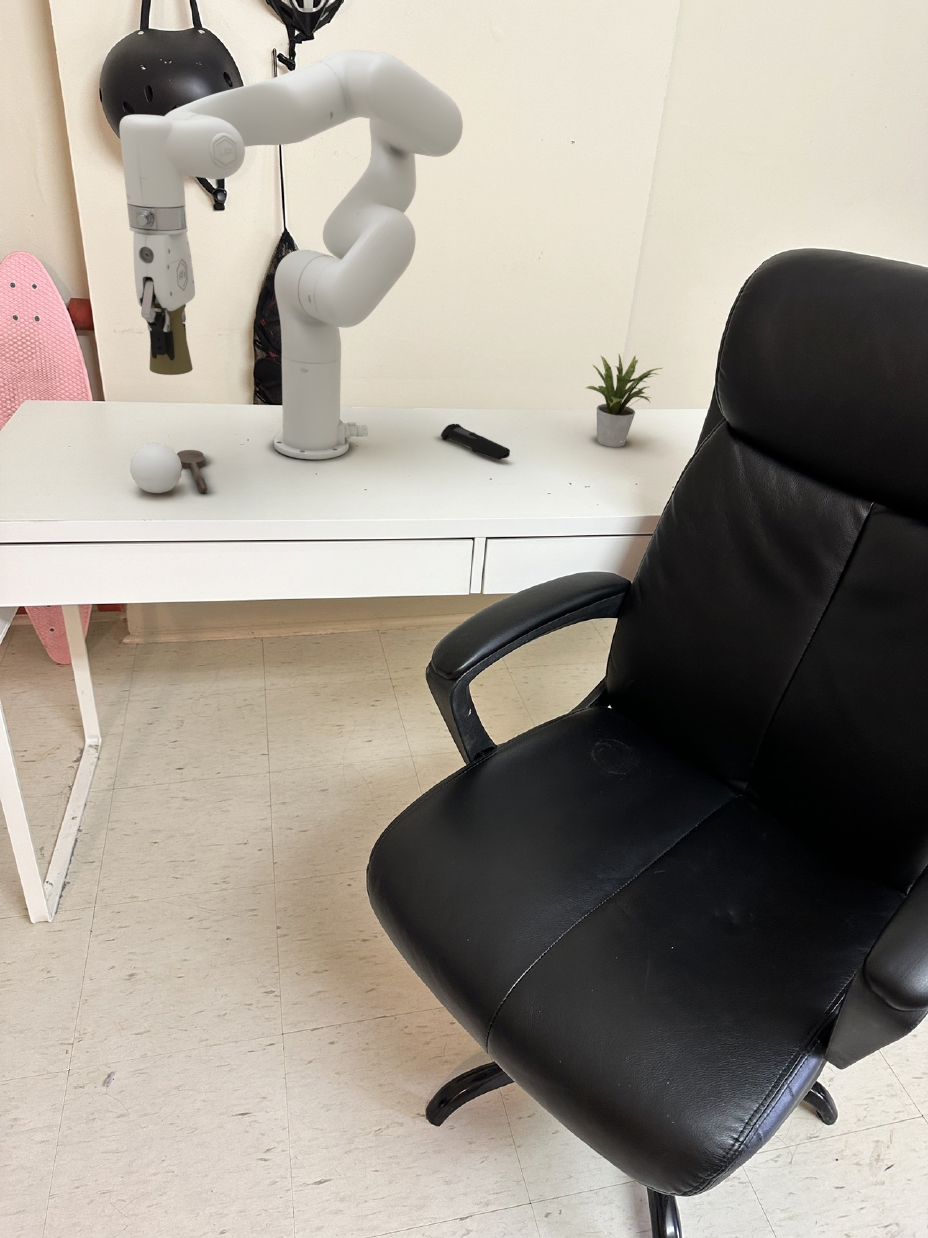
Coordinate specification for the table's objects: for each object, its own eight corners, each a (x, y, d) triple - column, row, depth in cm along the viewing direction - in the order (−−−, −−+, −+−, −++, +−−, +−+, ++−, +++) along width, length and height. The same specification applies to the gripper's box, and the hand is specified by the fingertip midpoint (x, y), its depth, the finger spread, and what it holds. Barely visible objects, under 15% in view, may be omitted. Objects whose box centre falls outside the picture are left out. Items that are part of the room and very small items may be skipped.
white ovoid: (187, 499, 139) (183, 451, 135) (134, 502, 136) (129, 454, 133) (179, 473, 147) (176, 428, 143) (129, 476, 144) (124, 430, 141)
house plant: (651, 462, 168) (669, 371, 160) (574, 452, 170) (587, 361, 162) (650, 437, 181) (666, 351, 172) (578, 427, 182) (590, 342, 174)
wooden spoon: (174, 456, 153) (174, 449, 152) (201, 454, 154) (201, 447, 154) (189, 495, 140) (189, 487, 140) (218, 493, 142) (218, 485, 141)
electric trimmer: (497, 467, 161) (500, 450, 159) (438, 438, 170) (440, 421, 169) (513, 463, 163) (515, 446, 161) (454, 435, 172) (455, 418, 171)
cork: (201, 370, 138) (195, 292, 133) (165, 377, 134) (158, 297, 129) (176, 360, 141) (169, 284, 136) (141, 367, 137) (132, 288, 132)
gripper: (160, 230, 120) (173, 373, 129) (206, 212, 134) (215, 342, 144) (103, 224, 121) (120, 367, 130) (155, 208, 135) (167, 337, 144)
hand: (169, 353), depth 137 cm, fingers closed on cork, 3 cm apart
